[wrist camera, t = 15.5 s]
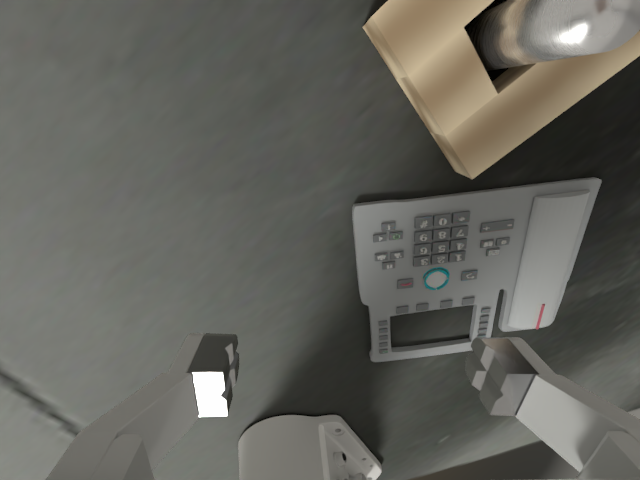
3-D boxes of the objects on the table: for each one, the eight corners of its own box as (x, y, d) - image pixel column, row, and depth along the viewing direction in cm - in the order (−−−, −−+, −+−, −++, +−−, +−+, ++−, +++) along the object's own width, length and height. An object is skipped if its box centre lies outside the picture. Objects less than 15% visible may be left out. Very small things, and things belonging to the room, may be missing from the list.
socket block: (608, 54, 23) (649, 48, 21) (455, 171, 27) (472, 179, 24) (541, -148, 18) (583, -191, 16) (362, 27, 22) (371, 16, 19)
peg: (524, 45, 23) (670, 8, 14) (478, 82, 24) (586, 72, 15) (502, -6, 21) (649, -83, 12) (454, 37, 22) (557, -6, 13)
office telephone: (618, 179, 26) (562, 348, 34) (591, 172, 28) (545, 332, 37) (355, 211, 26) (365, 374, 34) (350, 202, 28) (360, 356, 37)
